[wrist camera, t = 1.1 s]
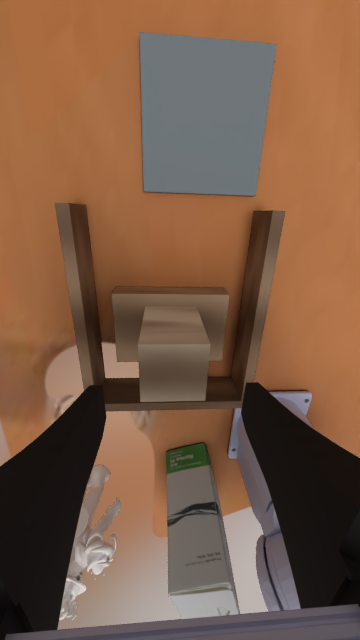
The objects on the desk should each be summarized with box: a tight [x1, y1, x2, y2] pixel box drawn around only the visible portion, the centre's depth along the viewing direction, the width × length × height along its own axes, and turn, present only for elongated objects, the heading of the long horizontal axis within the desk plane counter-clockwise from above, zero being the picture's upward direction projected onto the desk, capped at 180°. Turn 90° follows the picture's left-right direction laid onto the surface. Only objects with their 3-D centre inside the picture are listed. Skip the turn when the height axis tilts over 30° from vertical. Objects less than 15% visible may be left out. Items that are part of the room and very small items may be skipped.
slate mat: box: [140, 32, 276, 196], centre depth 16 cm, size 8×8×1 cm
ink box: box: [166, 443, 240, 619], centre depth 24 cm, size 9×5×12 cm, turn 12°
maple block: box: [138, 307, 210, 402], centre depth 17 cm, size 4×4×6 cm
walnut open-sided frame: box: [55, 203, 285, 411], centre depth 19 cm, size 16×14×4 cm
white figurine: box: [59, 465, 121, 620], centre depth 23 cm, size 9×4×12 cm, turn 109°
